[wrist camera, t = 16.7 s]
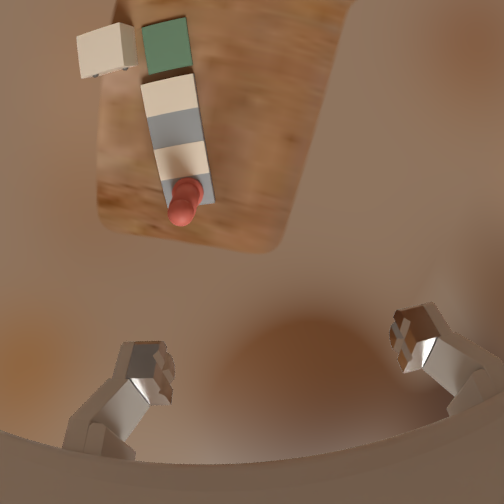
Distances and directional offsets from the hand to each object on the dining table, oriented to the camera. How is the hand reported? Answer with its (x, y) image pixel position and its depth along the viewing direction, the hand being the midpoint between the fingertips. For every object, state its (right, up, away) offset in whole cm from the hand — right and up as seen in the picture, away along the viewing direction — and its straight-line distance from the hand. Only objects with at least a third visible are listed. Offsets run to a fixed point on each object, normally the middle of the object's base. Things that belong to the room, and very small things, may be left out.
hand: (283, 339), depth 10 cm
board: (-10, +16, +24) cm, 30 cm away
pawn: (-9, +10, +26) cm, 30 cm away
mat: (-10, +26, +17) cm, 33 cm away
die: (-14, +25, +15) cm, 32 cm away
